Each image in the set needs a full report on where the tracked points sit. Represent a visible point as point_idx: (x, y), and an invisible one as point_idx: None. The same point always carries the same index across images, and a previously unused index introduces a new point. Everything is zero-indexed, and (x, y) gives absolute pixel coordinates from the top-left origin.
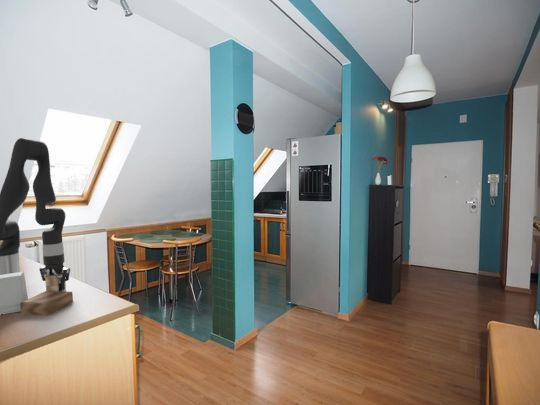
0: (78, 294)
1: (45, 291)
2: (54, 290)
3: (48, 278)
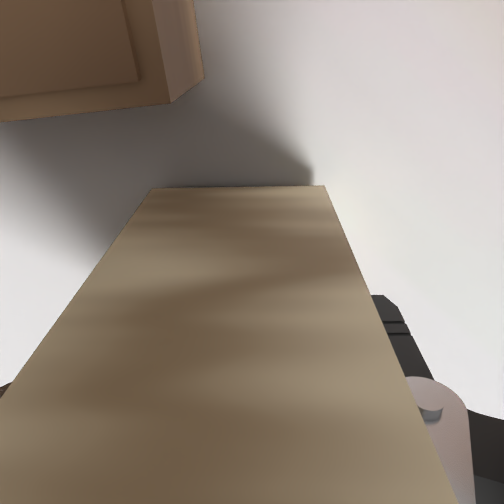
0: (26, 339)
1: (116, 38)
2: (147, 239)
3: (276, 464)
